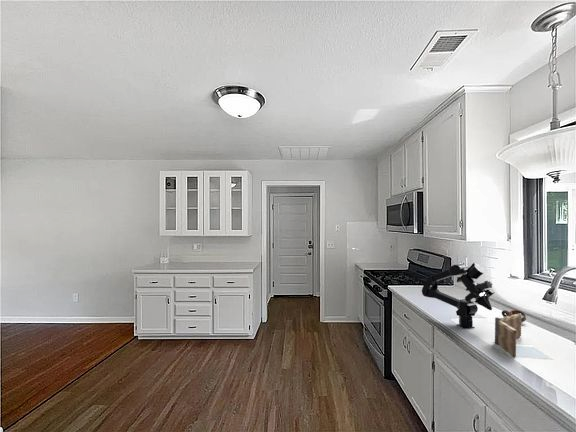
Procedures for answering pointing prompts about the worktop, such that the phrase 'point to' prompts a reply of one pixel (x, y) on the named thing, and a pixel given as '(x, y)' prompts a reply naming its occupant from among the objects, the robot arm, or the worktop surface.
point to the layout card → (526, 351)
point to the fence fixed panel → (505, 336)
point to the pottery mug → (514, 314)
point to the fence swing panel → (514, 322)
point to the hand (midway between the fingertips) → (491, 309)
